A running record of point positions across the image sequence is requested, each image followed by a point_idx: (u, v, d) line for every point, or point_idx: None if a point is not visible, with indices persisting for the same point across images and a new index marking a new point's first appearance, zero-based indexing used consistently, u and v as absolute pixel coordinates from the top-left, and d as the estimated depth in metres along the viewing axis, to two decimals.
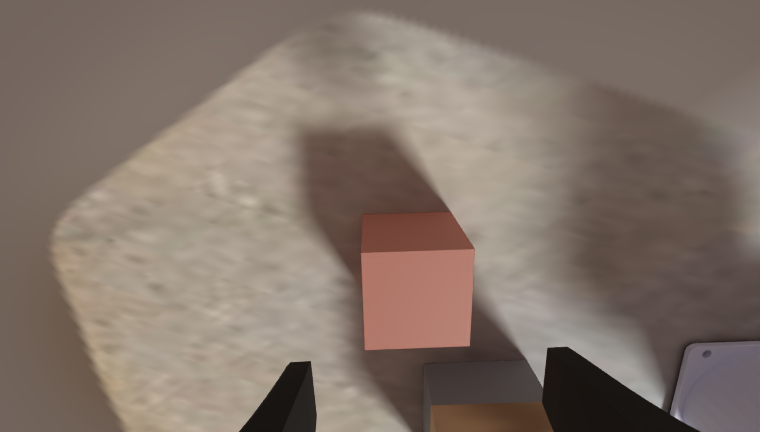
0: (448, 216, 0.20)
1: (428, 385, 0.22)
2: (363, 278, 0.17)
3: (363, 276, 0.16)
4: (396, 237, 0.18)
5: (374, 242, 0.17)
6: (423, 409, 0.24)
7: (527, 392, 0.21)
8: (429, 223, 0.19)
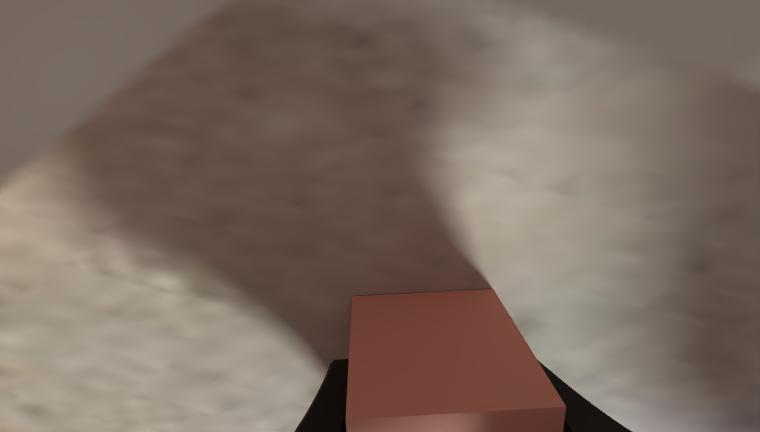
0: (493, 302, 0.12)
1: None
2: None
3: None
4: (411, 365, 0.10)
5: (371, 379, 0.09)
6: None
7: None
8: (464, 321, 0.11)
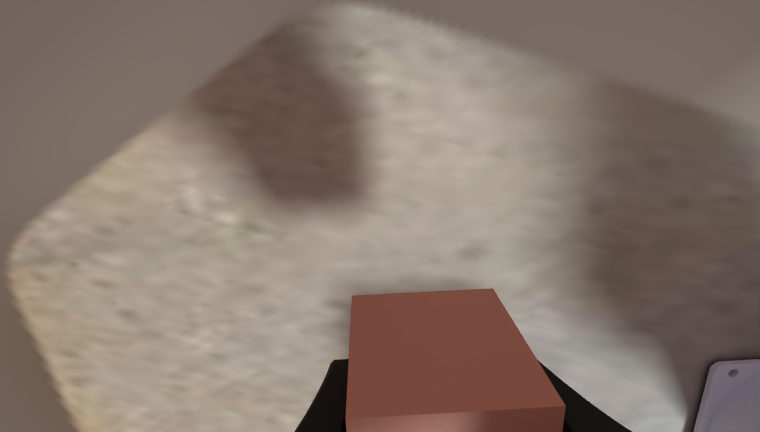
0: (492, 301, 0.12)
1: None
2: None
3: None
4: (411, 365, 0.10)
5: (370, 379, 0.09)
6: None
7: None
8: (464, 321, 0.11)
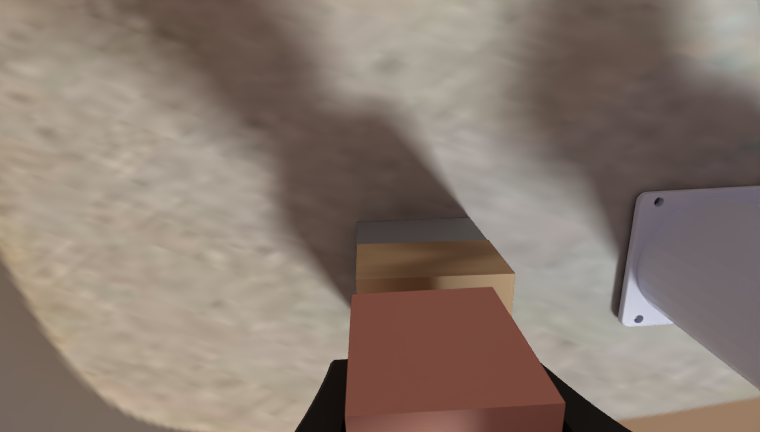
0: (492, 299, 0.12)
1: (357, 234, 0.20)
2: None
3: None
4: (411, 363, 0.10)
5: (370, 377, 0.09)
6: None
7: (463, 235, 0.19)
8: (464, 319, 0.11)
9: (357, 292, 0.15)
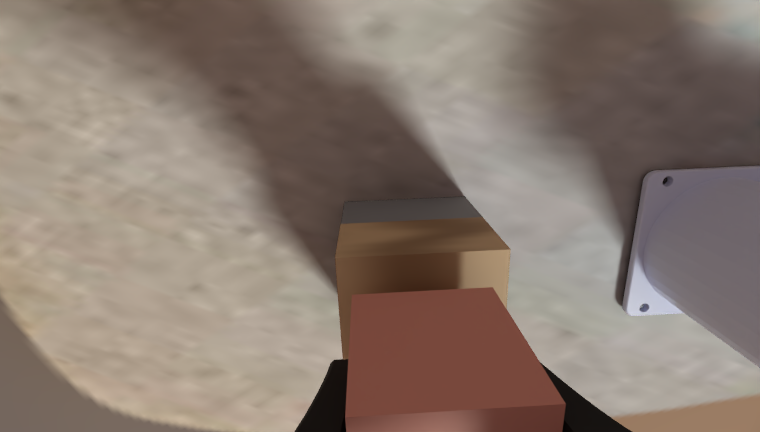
0: (493, 300, 0.12)
1: (343, 213, 0.19)
2: None
3: None
4: (411, 363, 0.10)
5: (370, 378, 0.09)
6: None
7: (457, 213, 0.18)
8: (464, 319, 0.11)
9: (337, 272, 0.14)
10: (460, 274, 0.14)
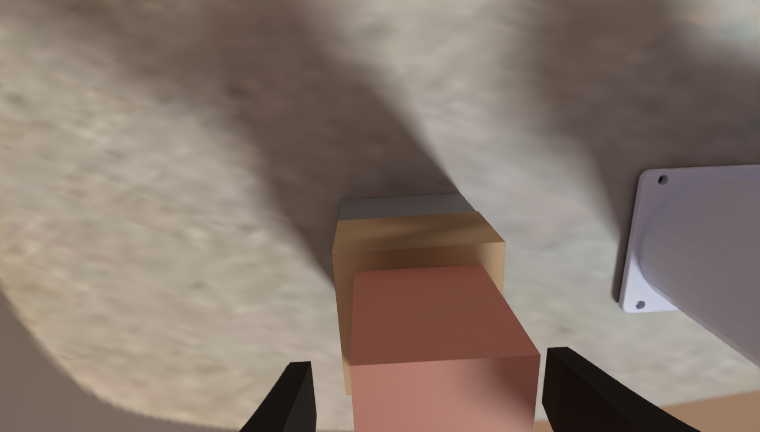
0: (482, 275, 0.14)
1: (340, 210, 0.19)
2: (355, 403, 0.10)
3: (355, 400, 0.10)
4: (407, 325, 0.11)
5: (371, 336, 0.11)
6: None
7: (453, 209, 0.18)
8: (455, 290, 0.13)
9: (334, 267, 0.14)
10: None
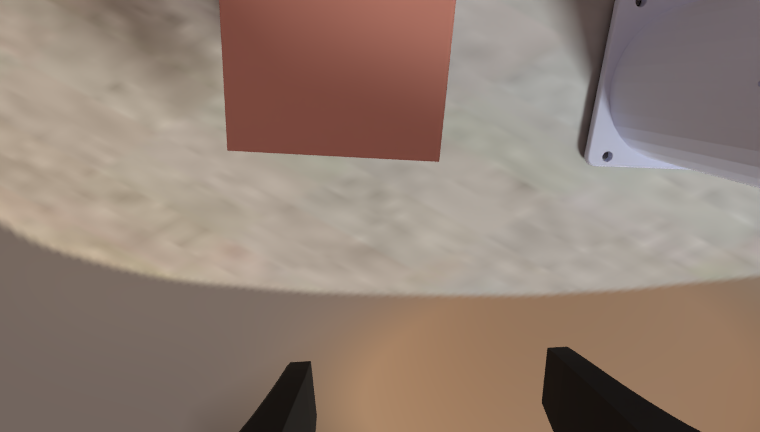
0: None
1: None
2: None
3: None
4: None
5: None
6: None
7: None
8: None
9: None
10: None
